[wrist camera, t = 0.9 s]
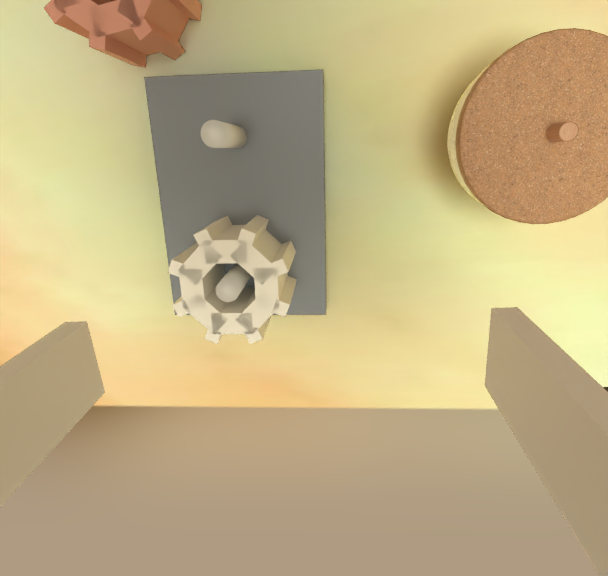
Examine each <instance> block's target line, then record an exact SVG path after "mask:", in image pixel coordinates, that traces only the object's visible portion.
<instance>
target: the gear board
mask: <svg viewBox="0 0 608 576" xmlns="http://www.w3.org/2000/svg"><path fill="white" fill-rule="evenodd" d="M144 78H145V86H146V93H147V101H148V109H149V116H150V124H151V132H152V140H153V147H154V155H155V163H156V171H157V178H158V186H159V194H160V201H161V209H162V217H163V225H164V232H165V240H166V248H167V256H168V263H169V271H168V273H170V279H171V286H172V294H173V302H174V304H173V305H172V306H173V308H174V310H175V315H178V316H179V317H181V316H183V315H192V316H193V317H194V318H195V319H196V320H198V321H199V322H200V323H201V324H202V325H203V326H205V327H206V328H207V329H208V330H207V333H206V336H205V339H206V340H209V341H211V342H214V343H217V344H218V342H219V341H220V339H221V337H222V336H223V334H245V335H246V337H247V339H248V341H249V343H250V344H251V343H254V342H256V341H259V340H262V339H263V336H264V334H265V331H266V328H267V326H268V323H269V320H270V318H271V315H280V316H283V317H285V316H286V315H326V249H325V165H324V80H323V70H303V71H279V72H255V73H231V74H207V75H183V76H160V77H144Z"/></svg>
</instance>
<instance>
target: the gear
mask: <svg viewBox="0 0 608 576" xmlns="http://www.w3.org/2000/svg"><path fill="white" fill-rule="evenodd" d="M201 8H202V5H201V4H200V3H199V2H198V0H51V1H50V2H49V3H48V4H47V5H46V6H45V7H44V9H45V10H46V12H47V13H48V15H49V16H50V17H51V19H52V20H53V21H54V23H55V24H58V25H60V26H62V27H64V28H66V29H69V30H71V31H73V32H75V33H78V34H80V35H82V36H84V37H86V38H89V47H91V48H94V49H96V50H98V51H101V52H103V53H105V54H108V55H110V56H113V57H115V58H117V59H120V60H122V61H125V62H127V63H129V64H132V65H136V66H141V67H146V55H150V54H154V53H158V52H161V53H163V54H165V55H167V56H168V57H170V58H172V59H174V60H176V59H177V58H178V57H179V56H180V55H181V54H183V53H184V52H185V51H184V49H183V48H182V46H181V45H180V43H179V42H178V40H179V38H180V36H181V34H182V32H183V30H184V28H185V26H186V24H187V22H188V20H189V19H194V20H199V21H200V18H201Z"/></svg>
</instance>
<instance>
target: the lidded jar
mask: <svg viewBox="0 0 608 576" xmlns="http://www.w3.org/2000/svg"><path fill="white" fill-rule="evenodd" d="M447 146H448V156H449V160H450V164H451V167H452V170H453V172H454V174H455V177H456V178H457V180H458V181H459V183H460V184H461V186H462V187H463V188H464V189H465V191H466V192H467V193H468V194H469V195H470V196H471V197H472V198H473V199H475V200H476V201H478V202H479V203H480V204H482V205H483V206H485V207H487V208H488V209H490V210H491V211H492V212H494V213H496V214H499V215H501V216H503V217H505V218H508V219H511V220H514V221H517V222H522V223H530V224H548V223H554V222H559V221H563V220H567V219H570V218H573V217H576V216H578V215H580V214H582V213H584V212H586V211H588V210H590V209H592V208H593V207H595V206H596V205H598V204H599V203H601V202H602V201H604V200H605V199H606V198H607V197H608V36H606V35H604V34H601V33H597V32H594V31H591V30H584V29H576V28H573V29H558V30H553V31H549V32H544V33H541V34H539V35H536V36H533V37H531V38H528V39H526V40H524V41H522V42H521V43H519V44H517V45H515V46H514V47H512V48H510V49H509V50H507V51H506V52H505V53H503V54H502V55H501V56H500V57H498V58H497V59H496V60H494V61H493V62H492V63H491V64H490V65H488V66H487V67H486V68H485V69H483V70H482V71H481V73H480V74H479V75H478V76H477V77H476V78H475V79H474V80H473V81H472V82H471V83H470V84H469V86H468V87H467V89H466V90H465V91H464V93H463V94H462V96H461V98H460V99H459V101H458V103H457V105H456V107H455V110H454V112H453V115H452V118H451V121H450V125H449V130H448V140H447Z"/></svg>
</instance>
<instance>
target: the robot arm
mask: <svg viewBox="0 0 608 576" xmlns="http://www.w3.org/2000/svg"><path fill="white" fill-rule="evenodd" d="M485 387H486V389H487V390H488V392H489V394H490V395H491V397H492V399H493V400H494V402H495V404H496V405H497V407H498V409H499V410H500V412H501V413H502V415H503V417H504V418H505V420H506V422H507V424H508V425H509V427H510V429H511V430H512V432H513V434H514V435H515V437H516V439H517V440H518V442H519V444H520V445H521V447H522V449H523V450H524V452H525V454H526V455H527V457H528V459H529V460H530V461H531V463H532V465H533V467H534V468H535V470H536V472H537V474H538V475H539V476H540V479H541V480H542V482H543V483H544V485H545V487H546V488H547V490H548V492H549V493H550V495H551V497H552V498H553V500H554V502H555V503H556V505H557V507H558V508H559V510H560V512H561V513H562V515H563V517H564V518H565V520H566V522H567V523H568V525H569V527H570V528H571V530H572V532H573V533H574V535H575V537H576V538H577V540H578V542H579V543H580V545H581V547H582V548H583V550H584V552H585V553H586V555H587V557H588V558H589V560H590V562H591V563H592V565H593V567H594V568H595V570H596V571H597V573H598V575H599V576H608V387H602V386H601V385H600V384H599V383H598V382H597V381H596V380H594V379H593V378H592V377H591V376H590V375H589V374H588V373H587V372H586V371H585V370H584V369H583V368H582V367H581V366H579V365H578V364H577V363H576V362H575V361H574V360H573V359H572V358H571V357H570V356H569V355H568V354H567V353H566V352H565V351H563V350H562V349H561V348H560V347H559V346H558V345H557V344H556V343H555V342H554V341H553V340H552V339H551V338H550V337H548V336H547V335H546V334H545V333H544V332H543V331H542V330H541V329H540V328H539V327H538V326H537V325H536V324H535V323H533V322H532V321H531V320H530V319H529V318H528V317H527V316H526V315H525V314H524V313H523V312H522V311H521V310H520V309H518V308H517V307H514V308H491V320H490V331H489V343H488V355H487V366H486V378H485ZM104 393H105V391H104V387H103V383H102V379H101V375H100V371H99V368H98V364H97V360H96V356H95V352H94V348H93V344H92V340H91V336H90V332H89V328H88V324H87V321H86V322H65V323H63V324H62V325H60V326H59V327H57V328H56V329H54V330H53V331H52V332H50V333H49V334H47V335H46V336H44V337H43V338H41V339H40V340H38V341H37V342H35V343H34V344H32V345H31V346H29V347H28V348H27V349H25V350H24V351H22V352H21V353H19V354H18V355H16V356H15V357H13V358H12V359H10V360H9V361H7V362H6V363H4V364H3V365H2V366H0V507H1V506H2V505H3V504H4V502H6V500H7V499H8V498H9V497H10V496H11V495H12V494H13V493H14V492H15V491H16V489H17V488H18V487H19V486H20V485H21V484H22V483H23V482H24V481H25V480H26V478H27V477H28V476H29V475H30V474H31V473H32V472H33V471H34V470H35V468H36V467H37V466H38V465H39V464H40V463H41V462H42V461H43V460H44V459H45V457H46V456H47V455H48V454H49V453H50V452H51V451H52V450H53V449H54V448H55V447H56V445H57V444H58V443H59V442H60V441H61V440H62V439H63V438H64V437H65V436H66V434H67V433H68V432H69V431H70V430H71V429H72V428H73V427H74V426H75V425H76V423H77V422H78V421H79V420H80V419H81V418H82V417H83V416H84V414H85V413H86V412H87V411H88V410H89V409H90V408H91V407H92V406H93V405H94V404H95V403H96V401H97V400H98V399H99V398H100V397H101V396H102V395H103V394H104Z"/></svg>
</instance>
